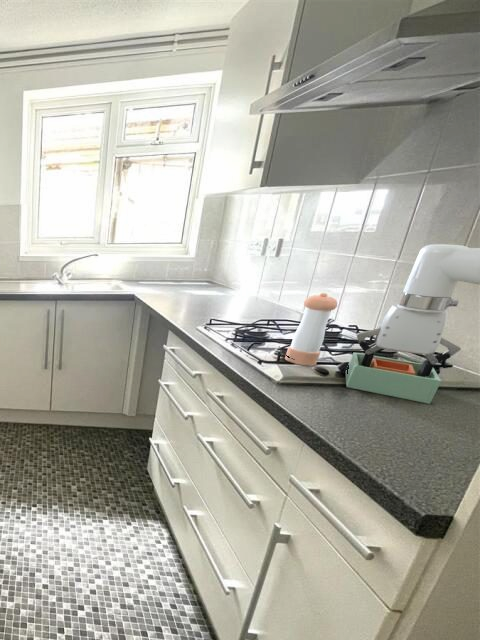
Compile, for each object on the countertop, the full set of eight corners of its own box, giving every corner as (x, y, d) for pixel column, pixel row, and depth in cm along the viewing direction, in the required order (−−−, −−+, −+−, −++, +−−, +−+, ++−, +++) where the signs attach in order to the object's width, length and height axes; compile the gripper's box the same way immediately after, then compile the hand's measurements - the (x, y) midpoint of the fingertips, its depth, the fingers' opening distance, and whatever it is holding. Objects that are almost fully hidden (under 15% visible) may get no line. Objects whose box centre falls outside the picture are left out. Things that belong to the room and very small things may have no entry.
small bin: (402, 383, 102) (411, 364, 100) (406, 393, 97) (415, 373, 95) (364, 376, 106) (372, 358, 104) (366, 385, 101) (374, 366, 99)
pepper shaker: (322, 363, 116) (348, 294, 108) (305, 367, 113) (331, 297, 105) (294, 355, 122) (317, 289, 114) (278, 358, 119) (300, 291, 112)
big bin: (421, 386, 102) (432, 365, 99) (429, 403, 93) (441, 381, 91) (345, 372, 110) (353, 352, 108) (346, 387, 101) (355, 365, 99)
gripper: (475, 304, 91) (440, 377, 97) (369, 295, 101) (344, 361, 107) (484, 311, 85) (447, 387, 92) (372, 300, 95) (345, 369, 102)
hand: (392, 373), depth 100 cm, fingers open, 9 cm apart
